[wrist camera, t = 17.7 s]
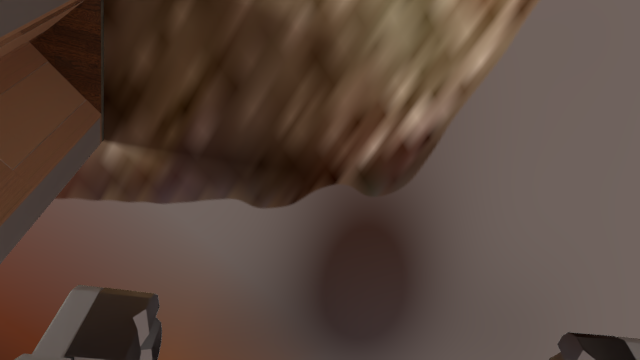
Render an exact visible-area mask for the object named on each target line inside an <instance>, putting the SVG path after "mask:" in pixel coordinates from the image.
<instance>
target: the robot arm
mask: <svg viewBox="0 0 640 360" xmlns="http://www.w3.org/2000/svg"><path fill="white" fill-rule="evenodd" d="M158 309H159V300H158V295H156V294H154V293H146V292H137V291H129V290H121V289H112V288H100V287H92V286H83V285H78V286H77V287H75V288H74V289H73V290H72V291H71V292H70V294H69V295H68V297H67V298H66V300H65V302H64V303H63V305H62V306H61V308H60V310H59V311H58V313H57V315H56V316H55V318H54V319H53V321H52V323H51V324H50V326H49V328H48V329H47V331H46V333H45V334H44V335H43V337H42V339H41V340H40V342H39V343H38V345H37V347H36V348H35V350H34V352H33V353H32V354H23V355H21V356H20V357H18V358H16V359H15V360H157V359H158V355H159V350H160V346H161V337H162V327H161V322H160V321H159V320H158V319H157V318H156V315H157V312H158ZM558 347H559V349H560V351H561V352H560V353H558V354H557V355H555V356H553V357H551V358H550V359H549V360H640V339H638V338H627V337H615V336H607V335H594V334H582V333H570V332H568V333H566V334H565V335H563V336H562V337H561V339H560V341H559V342H558Z"/></svg>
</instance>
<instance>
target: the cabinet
mask: <svg viewBox="0 0 640 360" xmlns="http://www.w3.org/2000/svg"><path fill="white" fill-rule="evenodd" d="M103 140H104V0H0V264H1V262H2V261H3V260H4V259H5V258H6V256H7V255H8V254H9V253H10V251H11V250H12V249H13V248H14V247H15V246H16V244H17V243H18V242H19V241H20V239H21V238H22V237H23V236H24V235H25V233H26V232H27V231H28V230H29V229H30V227H31V226H32V225H33V224H34V223H35V221H36V220H37V219H38V218H39V217H40V215H41V214H42V213H43V212H44V211H45V209H46V208H47V207H48V206H49V205H50V203H51V202H52V201H53V200H54V199H55V197H56V196H57V195H58V194H59V193H60V191H61V190H62V189H63V188H64V187H65V185H66V184H67V183H68V182H69V181H70V179H71V178H72V177H73V176H74V175H75V173H76V172H77V171H78V170H79V169H80V167H81V166H82V165H83V164H84V163H85V161H86V160H87V159H88V158H89V157H90V155H91V154H92V153H93V152H94V151H95V149H96V148H97V147H98V146H99V145H100V143H101V142H102V141H103Z"/></svg>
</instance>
